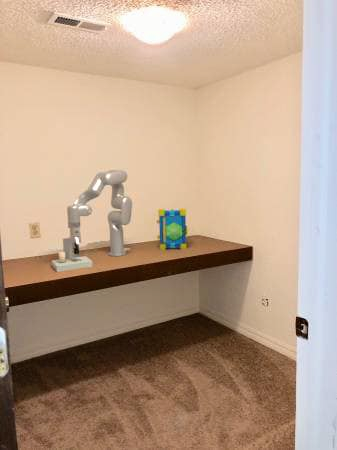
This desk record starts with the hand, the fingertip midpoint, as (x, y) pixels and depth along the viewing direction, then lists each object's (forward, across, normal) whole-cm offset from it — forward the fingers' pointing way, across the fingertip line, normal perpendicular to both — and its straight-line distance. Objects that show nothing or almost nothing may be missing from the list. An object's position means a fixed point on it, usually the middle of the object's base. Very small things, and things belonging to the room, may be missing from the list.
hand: (75, 252), depth 234 cm
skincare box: (+9, +20, -1) cm, 22 cm away
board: (+9, 0, +3) cm, 9 cm away
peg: (+2, 0, 0) cm, 2 cm away
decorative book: (+8, +11, -76) cm, 78 cm away
